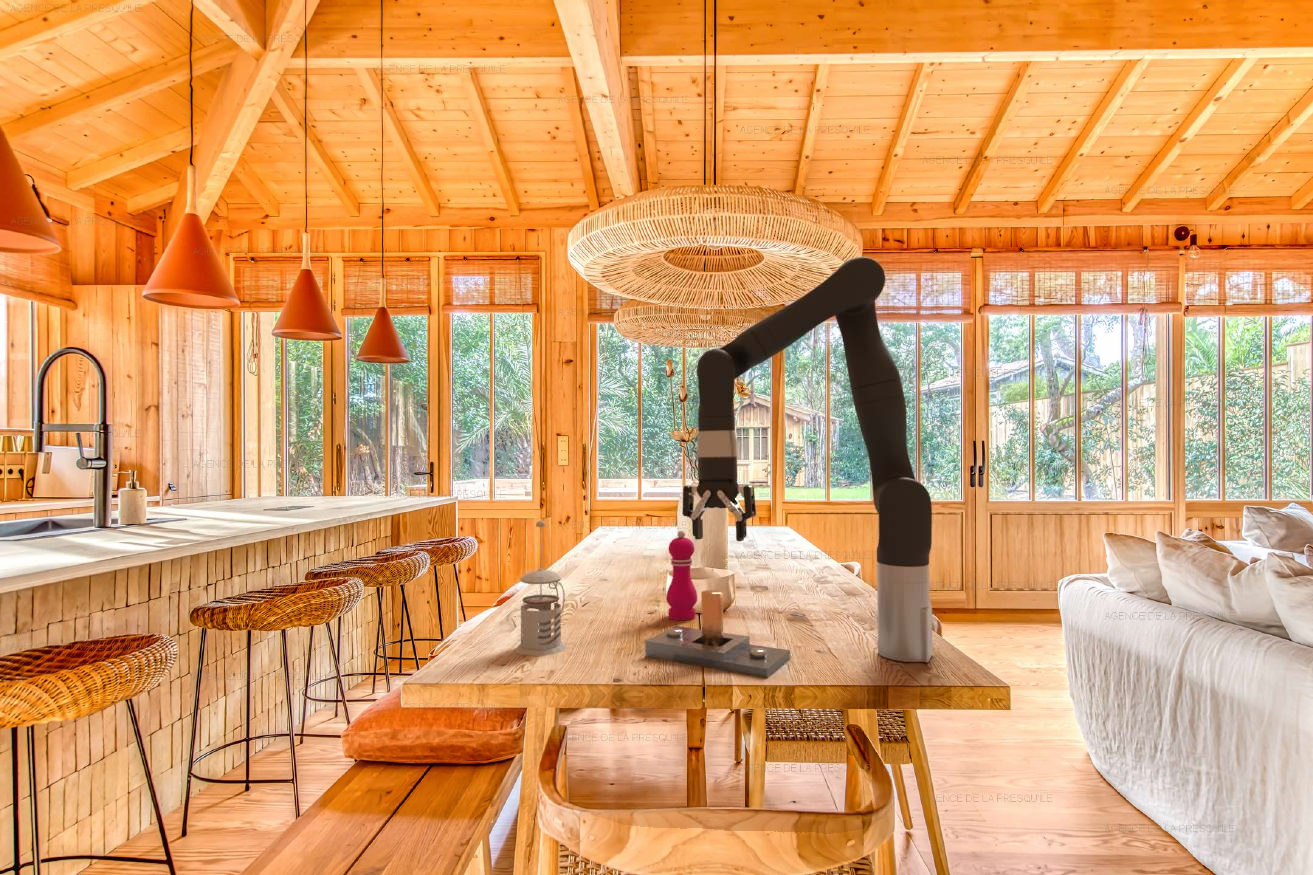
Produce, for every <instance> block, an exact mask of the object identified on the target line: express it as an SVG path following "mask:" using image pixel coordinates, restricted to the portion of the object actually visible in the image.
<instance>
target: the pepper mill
mask: <svg viewBox="0 0 1313 875" xmlns="http://www.w3.org/2000/svg"><path fill="white" fill-rule="evenodd" d="M677 536H678V537H675V538H673V539H672V540H671V541H670V542H669V545H668V553H669V554H670V556H671V557H672V558H670V561H671V562H670V565H671V566H672V579H671V581H670V584H669V586H668V589H667V592H666V597H665V598H666V602H667V603H668V605H669V606H670V608H668V617H669V619H671V620H673V621H674V620H675V621H690V620H693V619H695V618H696V609H695V608H694V606H695V605H696V603H697V602H698V593H697V590H696V587H695V585H694V582H693V580H692V577H691V566H692V565H693V558H692V556H693V554H694V553H695V544H694V543H693V541H692V540H691V539H689V538H688V537H686V532H685V531H683V530H679V531H678V532H677Z"/></svg>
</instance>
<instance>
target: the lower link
mask: <svg viewBox="0 0 1313 875" xmlns="http://www.w3.org/2000/svg"><path fill="white" fill-rule="evenodd" d="M790 659H791V650H790V649H786V648H784V649H783V648H776V647H769V646H763V645H756V644H749V645H748V646H746V647H745V648H743V649H742V650H740V651H739V652H738V653H736V654H735V655H733V656H732V657H730V658H729V659H727V660H726V661H724V662H722V661H716V660H710V659H704V658H698V657H692V656H686V655H680V654H674V662H673V663H679V664H685V665H691V666H696V667H703V668H708V669H714V670H720V671H726V672H731V673H737V674H743V675H750V676H755V677H760V678H764V679H768V678H769V677H770V676H771V675H772V674H774V673H775V672H776V671H778V670H779V669H780V668H781V667H782V666H783V665H785V663H787V662H788V661H789V660H790ZM779 667H780V668H779Z"/></svg>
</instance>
